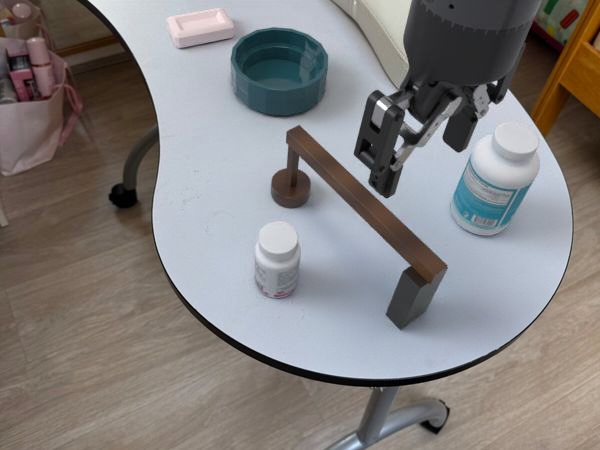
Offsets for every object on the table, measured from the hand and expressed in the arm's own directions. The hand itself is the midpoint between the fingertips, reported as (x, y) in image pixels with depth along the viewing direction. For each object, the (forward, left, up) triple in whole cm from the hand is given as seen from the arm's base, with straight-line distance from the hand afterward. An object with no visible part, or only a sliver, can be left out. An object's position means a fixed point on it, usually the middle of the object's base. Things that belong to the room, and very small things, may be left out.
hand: (418, 166), depth 49 cm
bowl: (+24, -25, -21) cm, 41 cm away
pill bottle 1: (+10, +4, -21) cm, 24 cm away
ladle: (+6, -4, -21) cm, 22 cm away
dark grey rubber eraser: (-4, +1, -21) cm, 21 cm away
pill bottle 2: (-8, -16, -21) cm, 27 cm away
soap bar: (+40, -30, -21) cm, 54 cm away
